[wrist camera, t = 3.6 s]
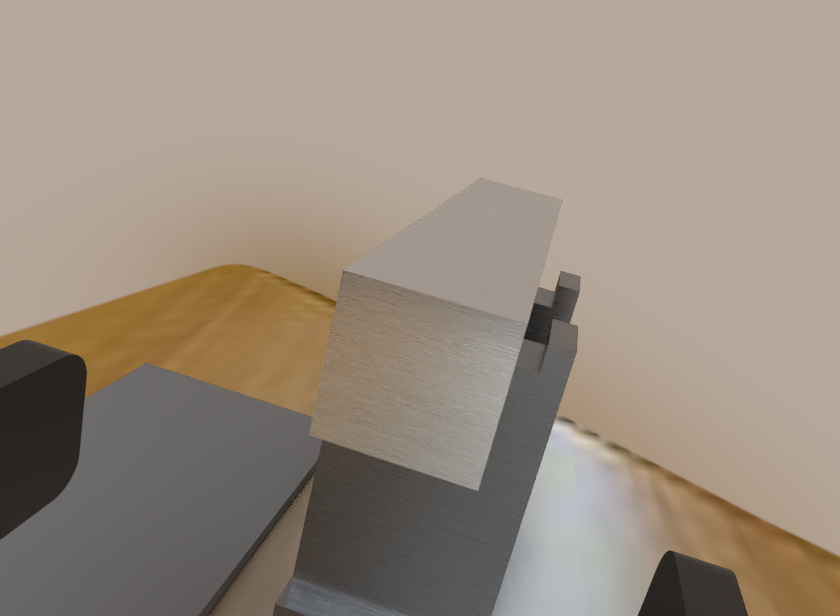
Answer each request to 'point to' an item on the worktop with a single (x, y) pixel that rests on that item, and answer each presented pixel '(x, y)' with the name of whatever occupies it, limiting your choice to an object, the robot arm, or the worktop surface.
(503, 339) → the rail
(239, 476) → the mat
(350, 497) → the rack
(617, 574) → the worktop surface
